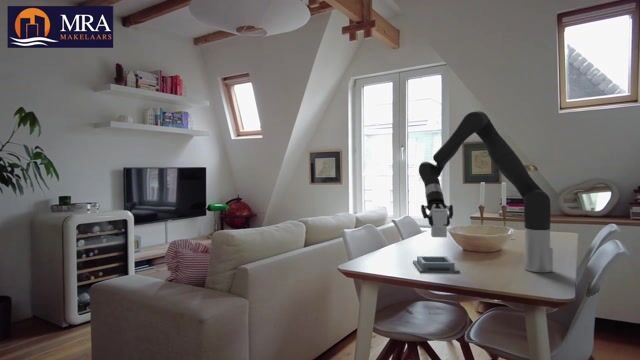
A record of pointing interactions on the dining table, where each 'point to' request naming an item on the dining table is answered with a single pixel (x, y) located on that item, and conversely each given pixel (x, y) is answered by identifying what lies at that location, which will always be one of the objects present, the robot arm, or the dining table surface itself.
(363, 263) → the dining table surface
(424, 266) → the tray
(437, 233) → the skincare box
